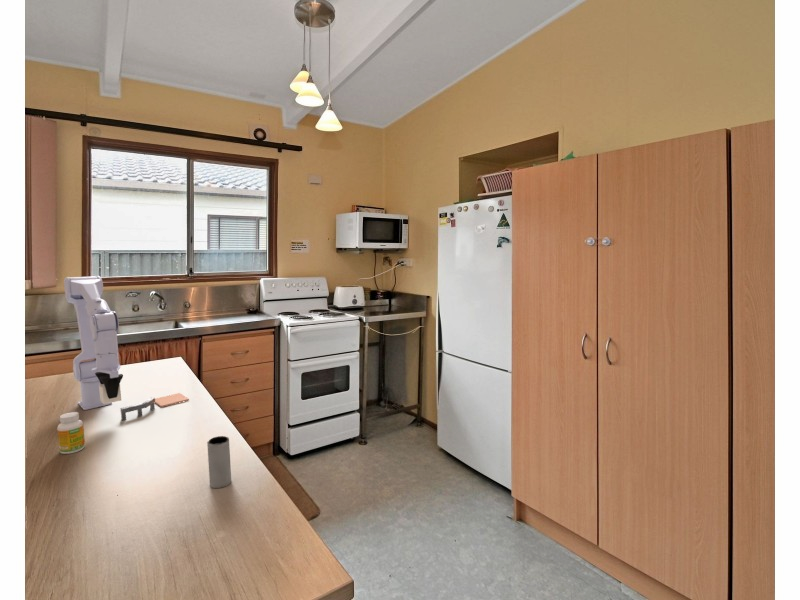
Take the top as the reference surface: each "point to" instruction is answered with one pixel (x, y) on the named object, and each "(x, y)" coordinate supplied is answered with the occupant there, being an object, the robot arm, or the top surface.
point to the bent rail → (137, 408)
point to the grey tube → (219, 461)
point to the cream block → (104, 397)
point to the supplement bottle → (70, 433)
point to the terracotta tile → (170, 399)
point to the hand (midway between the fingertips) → (110, 395)
